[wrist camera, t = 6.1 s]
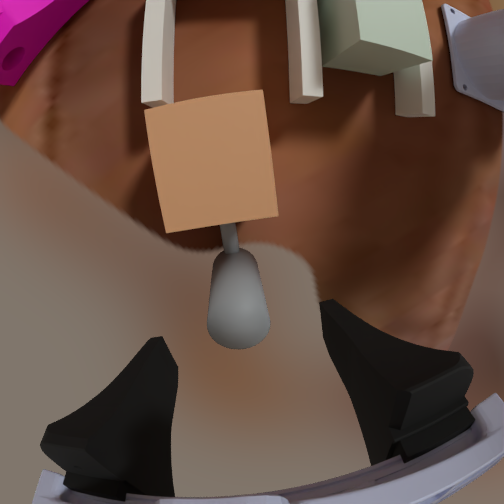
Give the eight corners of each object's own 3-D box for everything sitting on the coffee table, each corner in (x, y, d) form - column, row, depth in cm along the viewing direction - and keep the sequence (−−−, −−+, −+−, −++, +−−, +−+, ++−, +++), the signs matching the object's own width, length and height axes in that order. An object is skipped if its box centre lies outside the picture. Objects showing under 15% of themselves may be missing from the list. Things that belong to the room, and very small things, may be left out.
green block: (373, 12, 12) (417, -17, 7) (380, 76, 14) (432, 60, 9) (316, 0, 12) (347, -41, 7) (321, 66, 14) (360, 39, 9)
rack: (395, 4, 12) (418, -10, 9) (407, 117, 15) (435, 116, 12) (161, -16, 11) (151, -38, 8) (156, 109, 14) (141, 102, 11)
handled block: (251, 107, 14) (264, 87, 9) (273, 282, 19) (290, 341, 13) (171, 119, 14) (140, 108, 9) (204, 292, 18) (196, 354, 13)
